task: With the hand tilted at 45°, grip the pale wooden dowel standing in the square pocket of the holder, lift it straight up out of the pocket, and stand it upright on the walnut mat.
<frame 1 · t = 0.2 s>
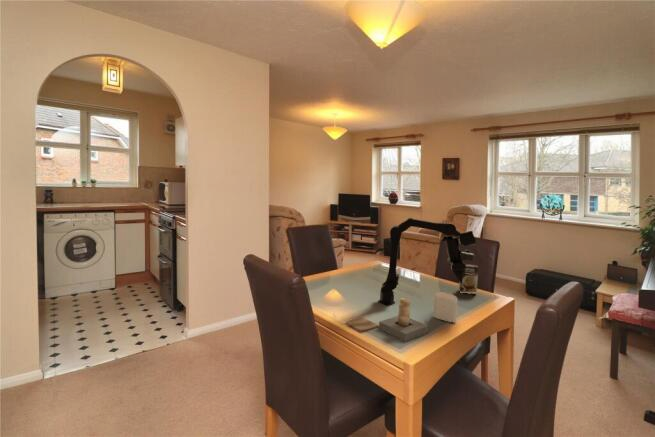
hand: (459, 279, 163), 15 cm above the table, tool pointing down, fingers open, 9 cm apart
holder: (403, 330, 139), on the table
dowel: (403, 315, 138), in the holder
mat: (362, 325, 143), on the table
coffee box: (467, 293, 193), on the table
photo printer: (444, 320, 152), on the table
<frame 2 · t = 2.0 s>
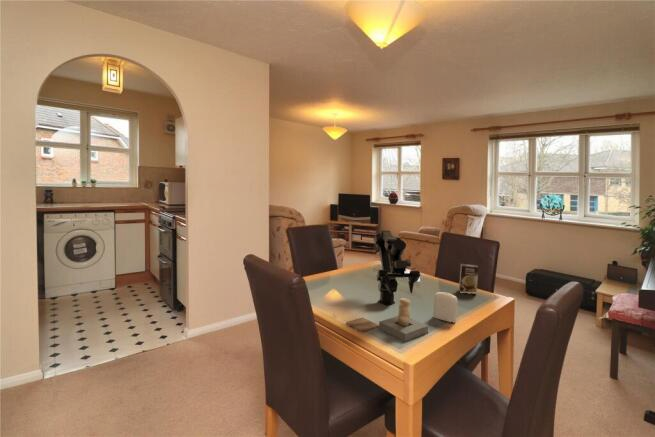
hand: (401, 292, 146), 13 cm above the table, tool tilted 45°, fingers open, 9 cm apart
nothing on the table moved.
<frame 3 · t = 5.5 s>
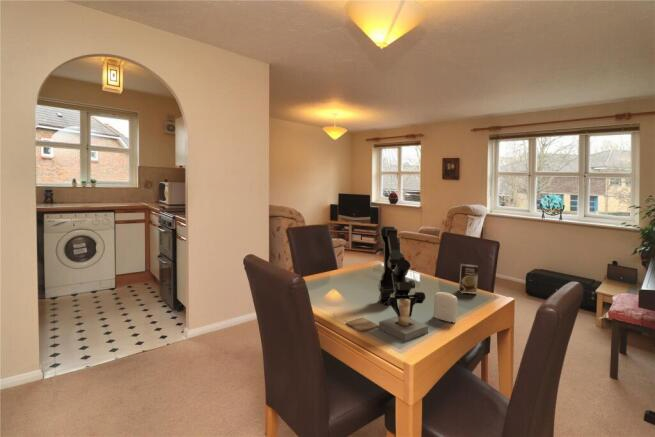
hand: (404, 316, 137), 7 cm above the table, tool tilted 45°, fingers closed on dowel, 4 cm apart
dowel: (403, 315, 138), in the holder, touching gripper
everything else where it was.
when the fingers open (8 cm above the table, at t = 11.0 s): dowel stays where it is, resting on mat.
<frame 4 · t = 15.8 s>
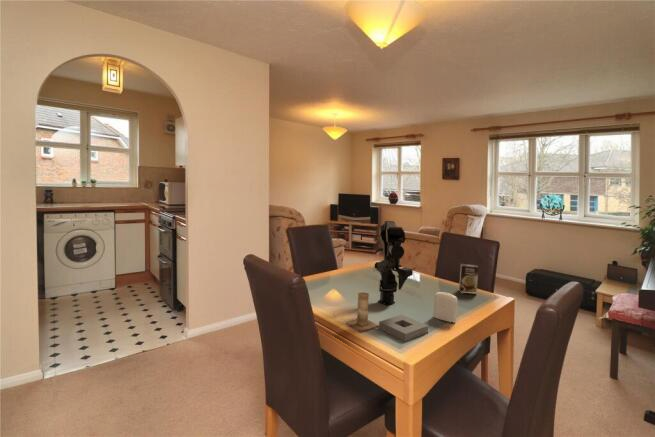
hand: (392, 286, 156), 13 cm above the table, tool pointing down, fingers open, 9 cm apart
dowel: (362, 308, 142), on the mat, point 7 cm above the table
everything else where it was.
at the end: dowel 0.0 cm off-centre on the mat, point 7.3 cm above the mat's base; dowel tilted 1°; the gripper is holding nothing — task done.
